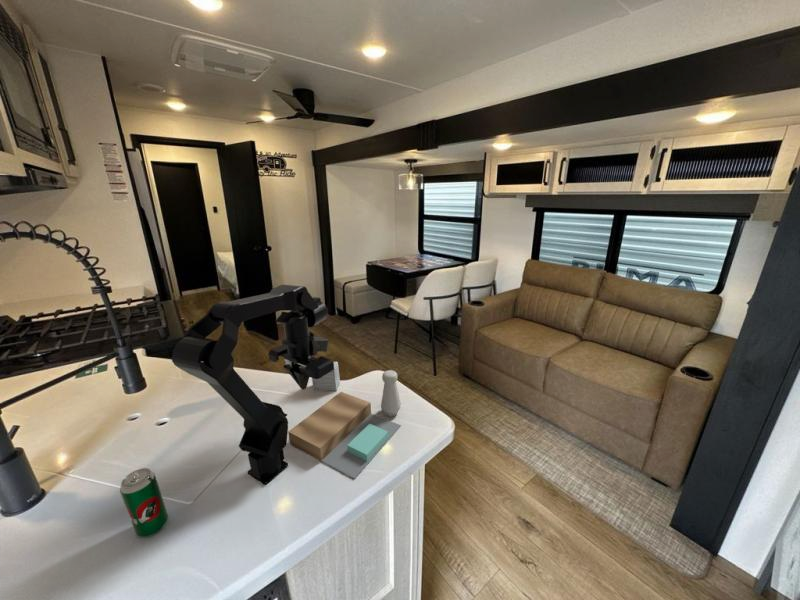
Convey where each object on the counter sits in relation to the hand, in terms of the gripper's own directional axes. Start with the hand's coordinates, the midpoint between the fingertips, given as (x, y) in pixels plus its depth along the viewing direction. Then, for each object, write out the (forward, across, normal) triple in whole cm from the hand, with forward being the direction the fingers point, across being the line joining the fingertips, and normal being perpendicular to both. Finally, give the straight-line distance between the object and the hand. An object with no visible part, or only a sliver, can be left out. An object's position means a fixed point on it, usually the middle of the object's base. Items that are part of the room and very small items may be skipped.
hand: (303, 388), depth 84 cm
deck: (+12, -6, -3) cm, 14 cm away
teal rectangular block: (+10, -18, -3) cm, 21 cm away
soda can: (+12, +4, +35) cm, 38 cm away
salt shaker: (+12, -16, -17) cm, 26 cm away
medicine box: (+12, +10, -16) cm, 23 cm away
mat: (+12, -17, -3) cm, 21 cm away
